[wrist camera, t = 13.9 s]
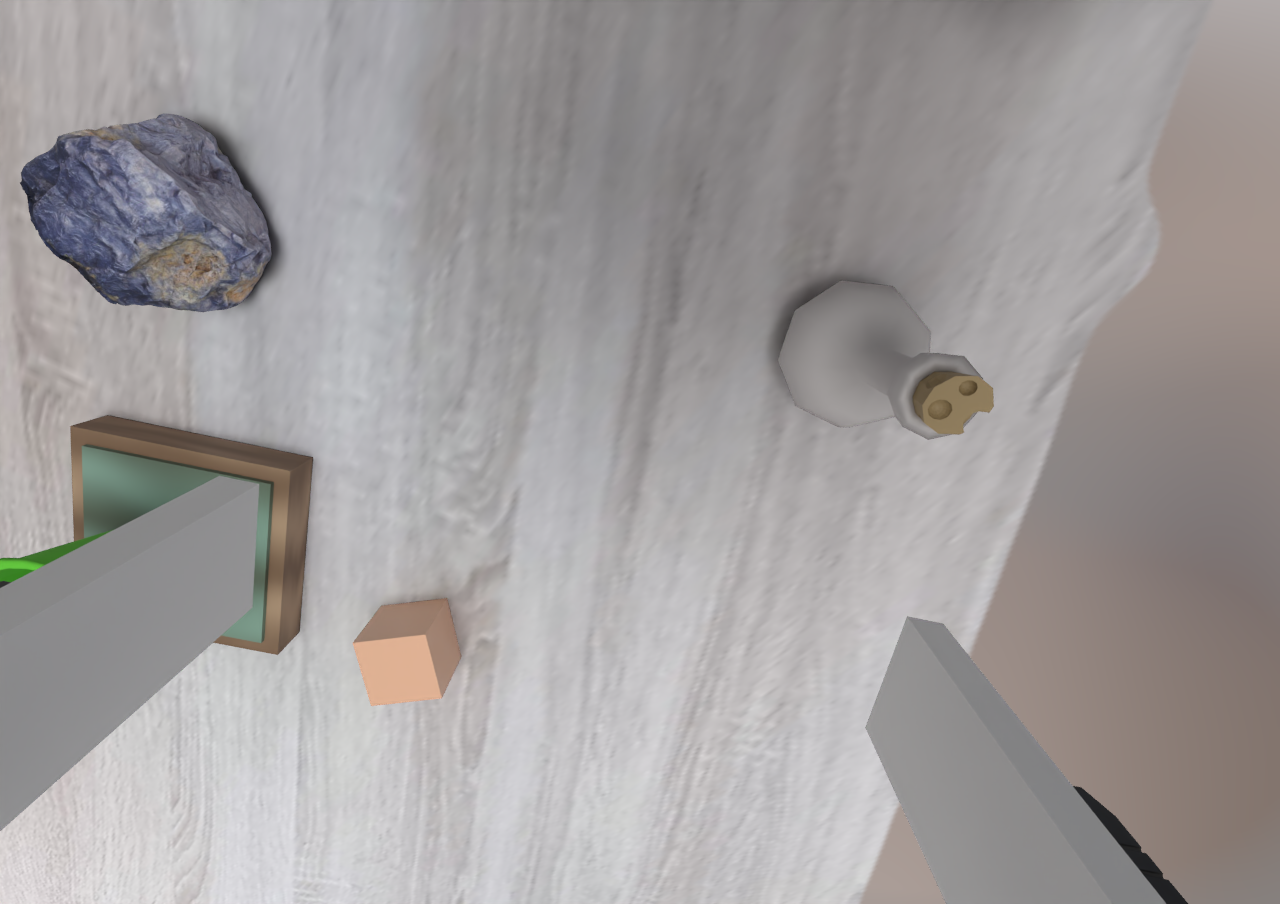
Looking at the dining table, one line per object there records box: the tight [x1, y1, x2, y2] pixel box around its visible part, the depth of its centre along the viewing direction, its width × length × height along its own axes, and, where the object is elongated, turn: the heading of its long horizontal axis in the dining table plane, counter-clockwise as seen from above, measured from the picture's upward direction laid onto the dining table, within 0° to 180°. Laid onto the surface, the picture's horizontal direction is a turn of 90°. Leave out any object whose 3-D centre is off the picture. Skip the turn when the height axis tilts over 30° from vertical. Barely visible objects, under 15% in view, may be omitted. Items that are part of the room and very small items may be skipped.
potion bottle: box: [778, 280, 994, 440], centre depth 35 cm, size 9×9×18 cm
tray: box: [70, 415, 313, 655], centre depth 46 cm, size 14×14×3 cm
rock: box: [20, 114, 272, 312], centre depth 38 cm, size 11×10×10 cm
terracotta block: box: [353, 598, 461, 706], centre depth 47 cm, size 5×5×5 cm
